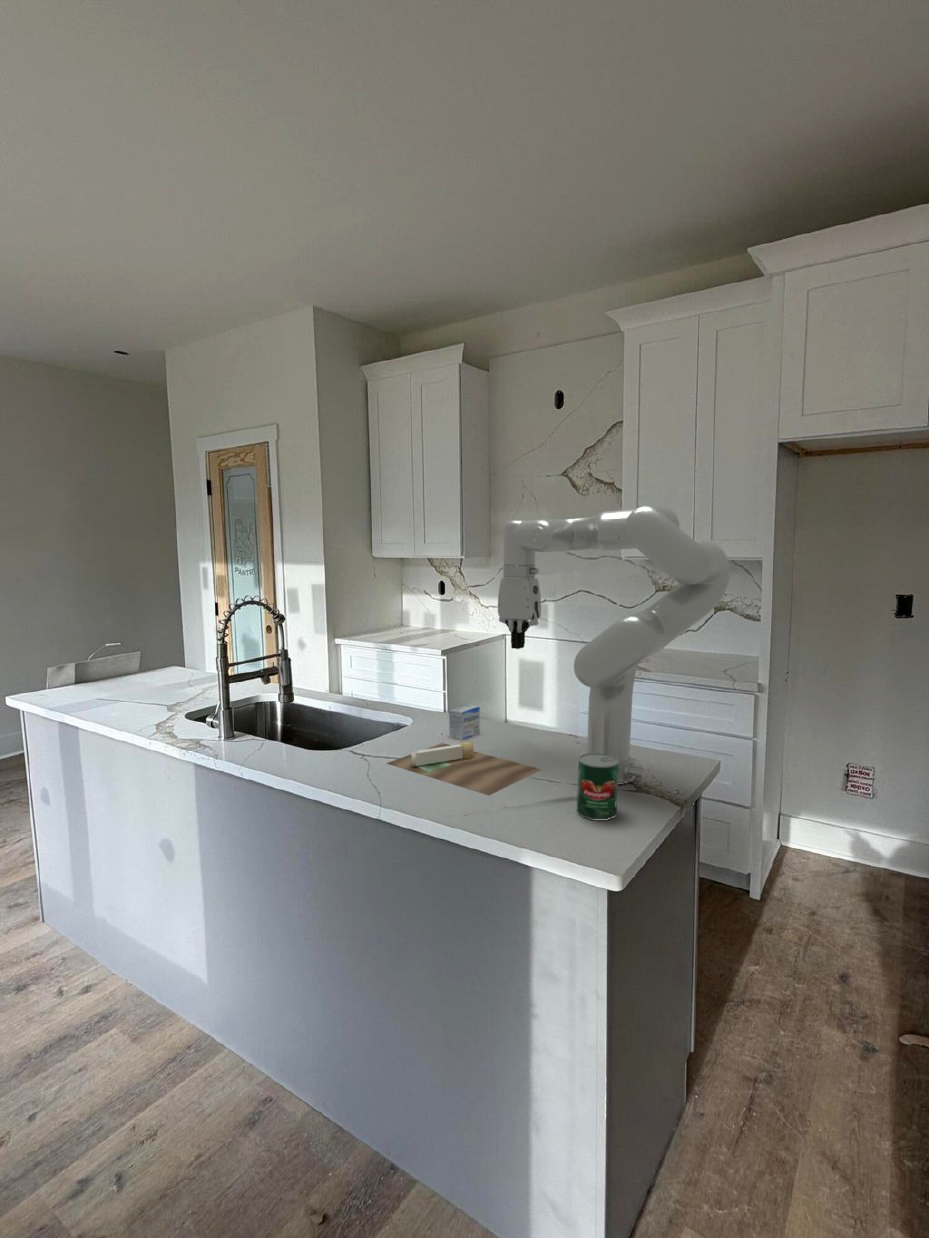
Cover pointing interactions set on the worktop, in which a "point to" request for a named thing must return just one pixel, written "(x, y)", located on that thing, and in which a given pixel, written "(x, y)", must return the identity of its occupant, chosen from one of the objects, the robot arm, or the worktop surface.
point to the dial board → (472, 771)
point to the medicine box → (464, 722)
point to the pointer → (442, 754)
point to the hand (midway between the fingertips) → (517, 647)
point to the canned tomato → (597, 785)
